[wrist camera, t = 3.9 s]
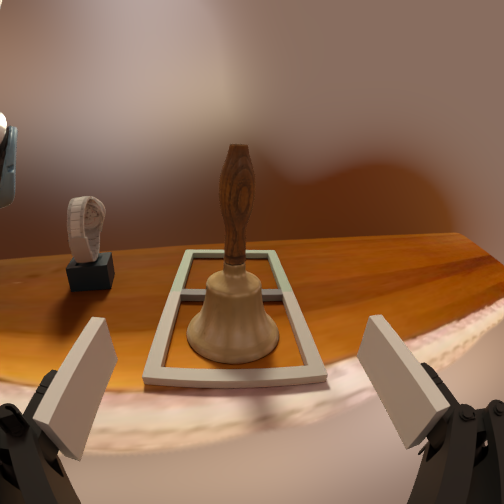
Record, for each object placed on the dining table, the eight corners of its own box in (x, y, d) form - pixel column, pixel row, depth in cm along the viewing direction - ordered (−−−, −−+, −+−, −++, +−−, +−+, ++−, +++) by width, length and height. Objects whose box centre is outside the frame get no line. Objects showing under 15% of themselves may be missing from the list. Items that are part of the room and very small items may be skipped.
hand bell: (290, 320, 26) (306, 148, 20) (258, 377, 19) (273, 143, 13) (215, 301, 29) (215, 145, 23) (168, 344, 22) (152, 145, 16)
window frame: (144, 383, 17) (141, 376, 17) (186, 254, 41) (186, 249, 41) (325, 381, 18) (327, 374, 18) (274, 255, 42) (274, 250, 42)
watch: (116, 267, 35) (107, 189, 31) (109, 295, 28) (95, 200, 24) (80, 271, 34) (69, 194, 30) (67, 299, 26) (49, 206, 23)
